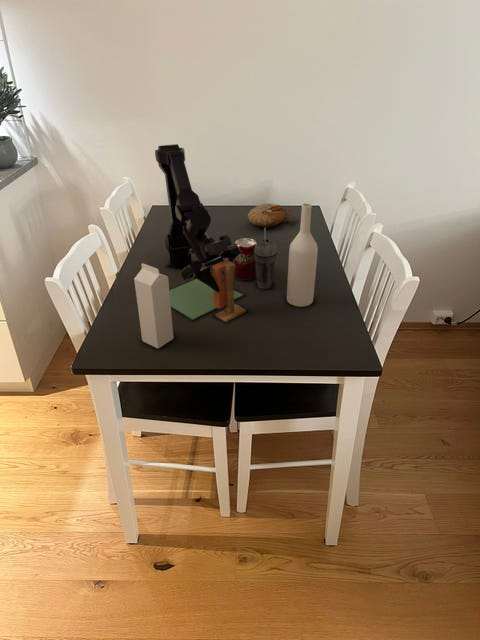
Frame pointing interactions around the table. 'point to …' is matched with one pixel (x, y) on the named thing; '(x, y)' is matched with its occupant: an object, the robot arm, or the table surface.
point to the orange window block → (220, 284)
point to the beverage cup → (265, 262)
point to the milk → (154, 306)
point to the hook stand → (230, 296)
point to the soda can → (245, 259)
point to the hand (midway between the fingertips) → (226, 288)
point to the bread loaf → (268, 215)
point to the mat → (194, 299)
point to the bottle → (302, 263)
